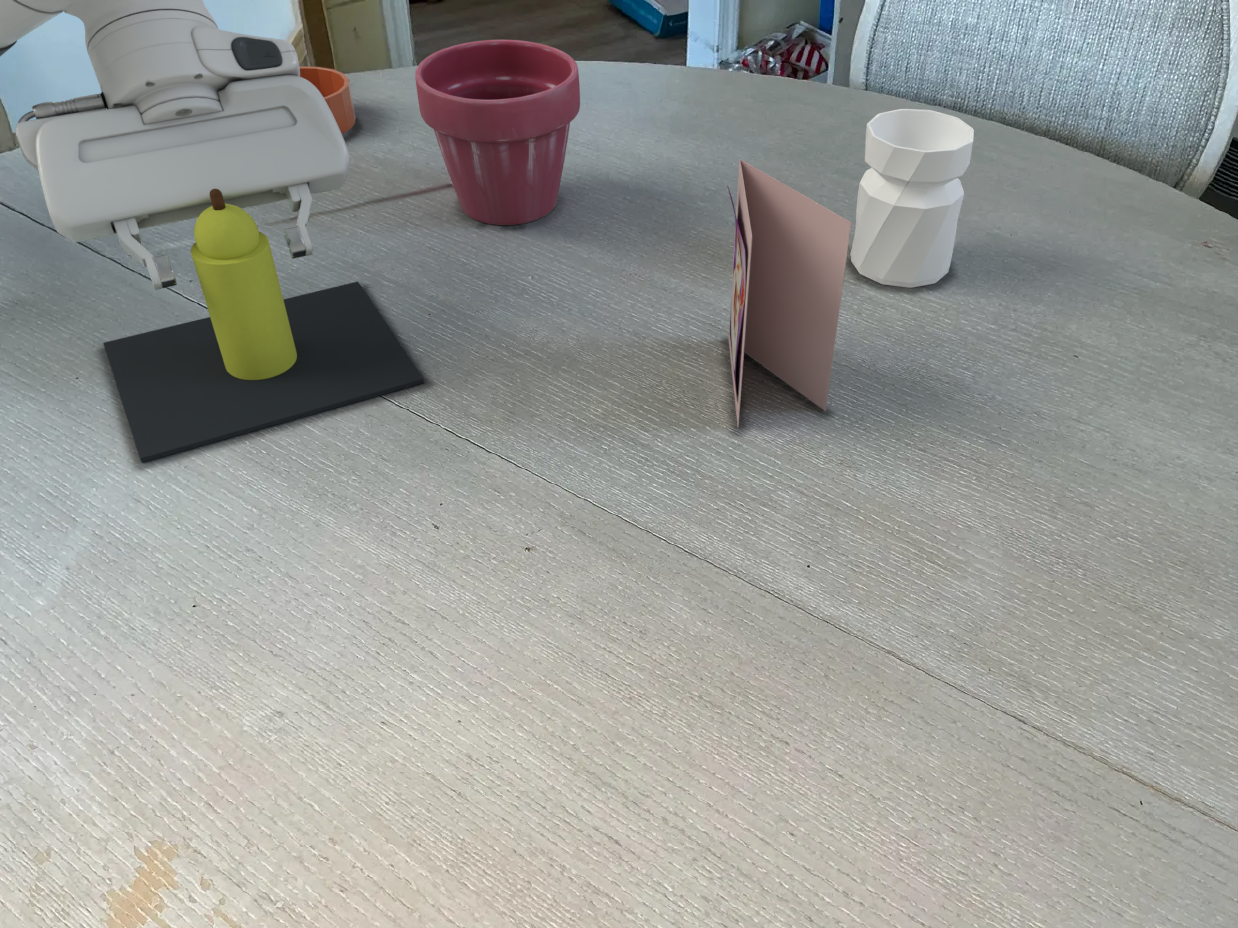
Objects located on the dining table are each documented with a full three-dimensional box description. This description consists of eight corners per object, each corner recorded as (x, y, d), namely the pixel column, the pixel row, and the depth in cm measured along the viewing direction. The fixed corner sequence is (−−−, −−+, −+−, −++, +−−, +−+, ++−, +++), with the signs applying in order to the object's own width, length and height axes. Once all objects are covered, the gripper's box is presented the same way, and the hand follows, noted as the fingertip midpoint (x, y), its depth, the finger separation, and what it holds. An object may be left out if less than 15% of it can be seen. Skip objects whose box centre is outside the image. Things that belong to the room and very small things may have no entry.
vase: (969, 273, 96) (999, 140, 88) (888, 297, 93) (911, 160, 85) (908, 230, 102) (930, 101, 94) (829, 251, 98) (845, 119, 91)
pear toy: (234, 387, 81) (181, 213, 72) (218, 352, 84) (166, 181, 75) (305, 368, 83) (263, 196, 73) (287, 335, 86) (244, 166, 77)
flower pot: (537, 253, 97) (527, 110, 89) (403, 220, 101) (380, 80, 93) (609, 188, 107) (606, 53, 99) (484, 160, 111) (470, 29, 103)
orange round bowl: (270, 155, 111) (260, 111, 108) (245, 118, 118) (235, 76, 115) (369, 136, 115) (361, 93, 112) (339, 101, 122) (332, 60, 119)
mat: (141, 463, 75) (139, 458, 74) (104, 346, 85) (102, 342, 85) (424, 383, 82) (423, 378, 82) (358, 285, 93) (357, 281, 92)
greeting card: (717, 339, 87) (727, 158, 77) (811, 340, 88) (832, 159, 78) (725, 428, 79) (737, 237, 69) (829, 428, 79) (856, 238, 69)
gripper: (-4, 87, 71) (69, 291, 71) (314, 39, 78) (379, 223, 79) (15, 129, 76) (82, 318, 77) (309, 81, 84) (370, 252, 84)
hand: (235, 269), depth 78 cm, fingers open, 8 cm apart
